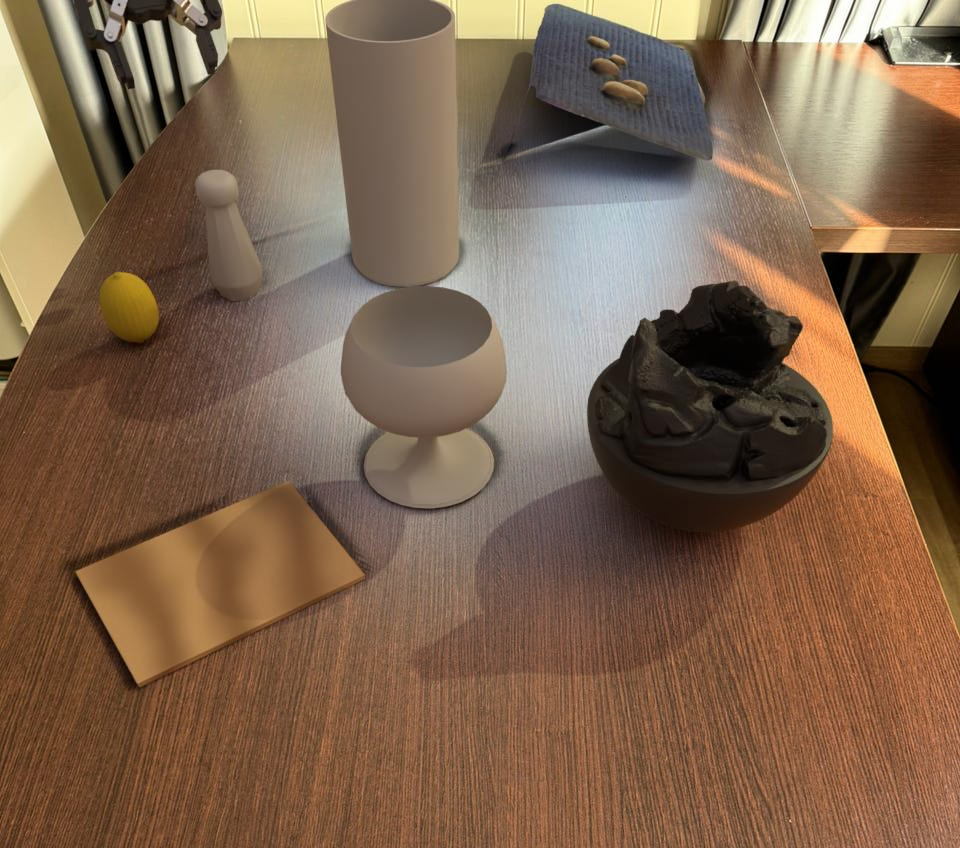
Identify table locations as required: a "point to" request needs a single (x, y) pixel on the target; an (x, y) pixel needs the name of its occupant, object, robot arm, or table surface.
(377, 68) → the cylinder vase
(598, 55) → the mat
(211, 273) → the salt shaker
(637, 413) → the bowl of black rocks
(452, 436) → the chalice
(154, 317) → the lemon
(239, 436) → the table surface
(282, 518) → the cork mat
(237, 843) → the table surface
